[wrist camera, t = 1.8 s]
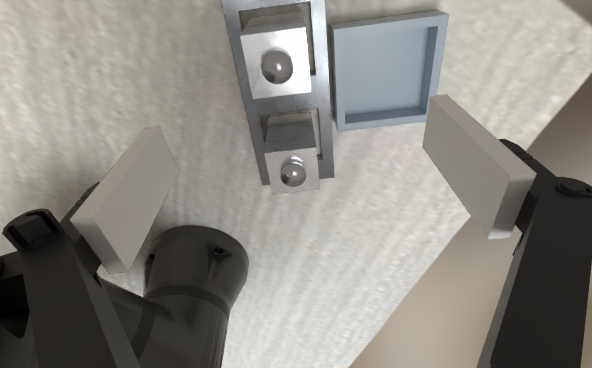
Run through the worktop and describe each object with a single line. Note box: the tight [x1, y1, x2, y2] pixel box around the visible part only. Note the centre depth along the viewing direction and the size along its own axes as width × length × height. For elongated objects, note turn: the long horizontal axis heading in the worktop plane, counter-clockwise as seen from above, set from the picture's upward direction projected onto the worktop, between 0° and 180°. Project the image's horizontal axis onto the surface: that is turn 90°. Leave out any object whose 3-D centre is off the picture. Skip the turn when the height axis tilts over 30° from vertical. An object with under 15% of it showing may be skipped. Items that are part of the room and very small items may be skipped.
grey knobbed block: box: [264, 112, 320, 194], centre depth 33 cm, size 5×5×9 cm
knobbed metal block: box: [240, 11, 311, 99], centre depth 27 cm, size 5×5×9 cm
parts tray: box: [330, 10, 449, 132], centre depth 31 cm, size 10×10×3 cm
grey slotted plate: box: [221, 0, 334, 185], centre depth 33 cm, size 22×9×1 cm, turn 7°
